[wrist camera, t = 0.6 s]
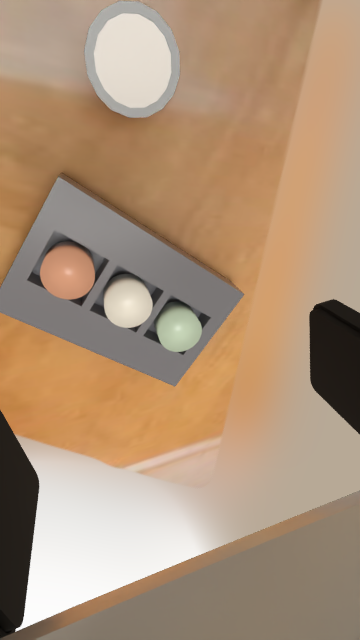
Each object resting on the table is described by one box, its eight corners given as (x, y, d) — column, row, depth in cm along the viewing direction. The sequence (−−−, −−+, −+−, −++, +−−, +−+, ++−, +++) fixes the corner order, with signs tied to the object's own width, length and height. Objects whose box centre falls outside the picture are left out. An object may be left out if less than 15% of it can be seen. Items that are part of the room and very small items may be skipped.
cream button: (117, 265, 36) (120, 275, 33) (156, 287, 38) (161, 298, 35) (94, 302, 37) (95, 315, 34) (133, 321, 39) (136, 334, 36)
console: (61, 172, 33) (58, 176, 29) (231, 281, 42) (244, 294, 39) (-1, 292, 36) (-11, 307, 33) (168, 367, 46) (175, 386, 42)
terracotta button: (57, 231, 33) (55, 239, 30) (103, 257, 35) (104, 266, 32) (35, 273, 34) (30, 284, 31) (80, 295, 36) (79, 307, 33)
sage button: (169, 294, 38) (175, 305, 36) (202, 313, 40) (210, 324, 38) (146, 328, 40) (150, 341, 37) (179, 344, 42) (185, 358, 39)
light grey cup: (168, 40, 30) (188, 15, 24) (157, 129, 33) (173, 126, 27) (86, 18, 28) (86, -15, 22) (83, 114, 31) (82, 108, 25)
